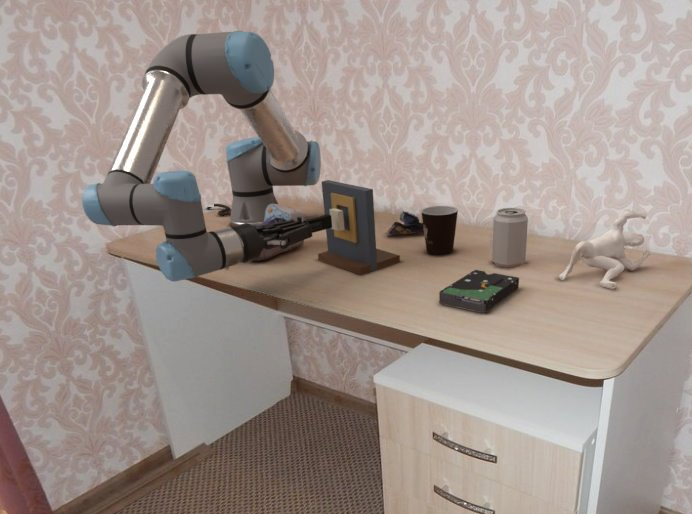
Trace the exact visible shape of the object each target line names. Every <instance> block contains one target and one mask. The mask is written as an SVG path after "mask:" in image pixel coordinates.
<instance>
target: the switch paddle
mask: <svg viewBox="0 0 692 514" xmlns="http://www.w3.org/2000/svg"><path fill="white" fill-rule="evenodd" d="M329 211H330V215H331V219H332V228H331V229H334V230H337V231H342V230H344V218H343V210H339V209H335V208H333V209H329Z"/></svg>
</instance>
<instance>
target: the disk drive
mask: <svg viewBox="0 0 692 514" xmlns="http://www.w3.org/2000/svg"><path fill="white" fill-rule="evenodd" d="M519 287H520V277H518V276H513V275H507V274H502V273H497V272H493V273H490V274H488V273H486V271H484V270H479V269H474V270H472V271H470V272H468V273H467V274H465V276H463V277H461V278H459V279H457V280H456V281H455V282H453V283H451V284H449V285H447V286H446V287H444V288H443V289H441V290H440V291H439V293H438V297H439V298H438V299H439V304H442V305H446V306H449V307H455V308H458V309H464V310H467V311H468V310H469V311H472V312H477V313H487V312H489V311H490V310H491V309H492V308H494V307H496V306H497V305H498V304H499V303H501V302H502V301H504V300H505V299H506V298H508V297H509V296H511V294H513V293H515V292H516V291H517V290H518V289H519Z"/></svg>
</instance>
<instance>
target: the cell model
mask: <svg viewBox="0 0 692 514" xmlns="http://www.w3.org/2000/svg"><path fill="white" fill-rule="evenodd" d="M297 217H301V218H302V222H303V220H306V219H305V214H304V211H301V210H299V209H296V208H293V207H290V206H287V205H283V204H279V203H278V204H270V205H268V206H267V208H266V211H265V220H264V223H263V224H262V225H266V224H271V223H277V222H283V221H289V220H295V221H297ZM257 226H259V225H257ZM304 243H305V240H303V241H300V242H298V243H295V244H293V245H290V246H289V247H287V248H286V249H281V246H280V245H279V246H275V247H274V248H272V249H268V250H267V249H263V250H262V252H261V255H260V257H259V258H258V259H257V260H253V261H252V262H260V261H266V260H269V259H272V258H274V257H275V256H277V255H279V254H281V253H286V252H287V251H289V252H290V251H292V250H293V249H294V248H296V247H299V246H302V245H304Z"/></svg>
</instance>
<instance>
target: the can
mask: <svg viewBox="0 0 692 514" xmlns="http://www.w3.org/2000/svg"><path fill="white" fill-rule="evenodd" d="M528 223H529V218H528V216H527V214H526V210H525V209H524V208H520V207H503V208H499V209H497V210H496V214H495V216H493V219H492V249H491V250H492V251H491V261H492V262H493V263H494V264H495V265H496V266H498V267H502V268H516V267H519V266H521V265H522V264H523V263H524V262H525V261H526V259H527V257H526V256H527V244H528V243H527V242H528V226H529V224H528Z"/></svg>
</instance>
